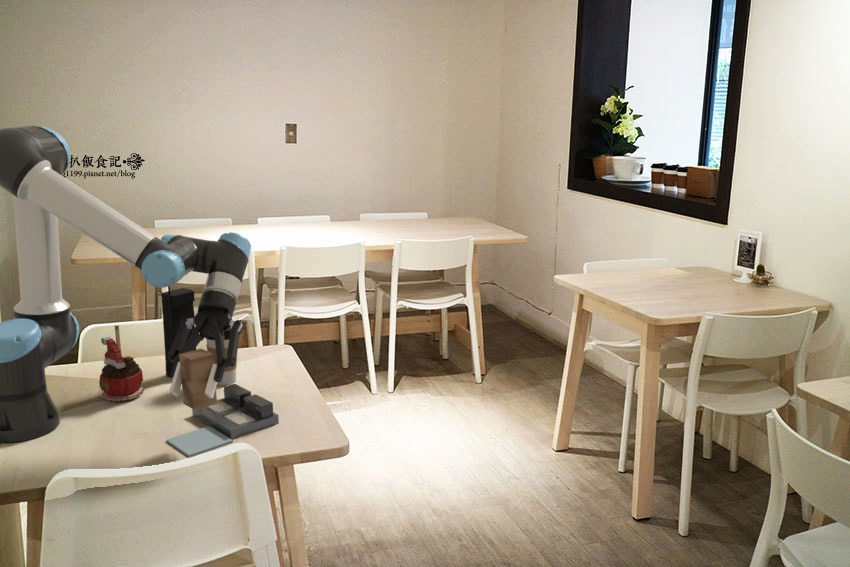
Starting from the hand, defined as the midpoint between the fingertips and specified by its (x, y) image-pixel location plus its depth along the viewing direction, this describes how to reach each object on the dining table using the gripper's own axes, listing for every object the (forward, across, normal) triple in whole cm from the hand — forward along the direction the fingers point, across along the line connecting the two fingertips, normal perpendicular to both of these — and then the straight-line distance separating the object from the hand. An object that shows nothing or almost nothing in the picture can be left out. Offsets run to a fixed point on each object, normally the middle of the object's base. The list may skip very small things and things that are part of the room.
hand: (191, 394), depth 157 cm
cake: (-8, +30, -25) cm, 40 cm away
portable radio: (-20, +23, -37) cm, 48 cm away
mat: (+6, +1, -11) cm, 13 cm away
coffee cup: (-18, +10, -35) cm, 41 cm away
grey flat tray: (-2, -2, -20) cm, 20 cm away
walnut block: (0, 0, -5) cm, 5 cm away
